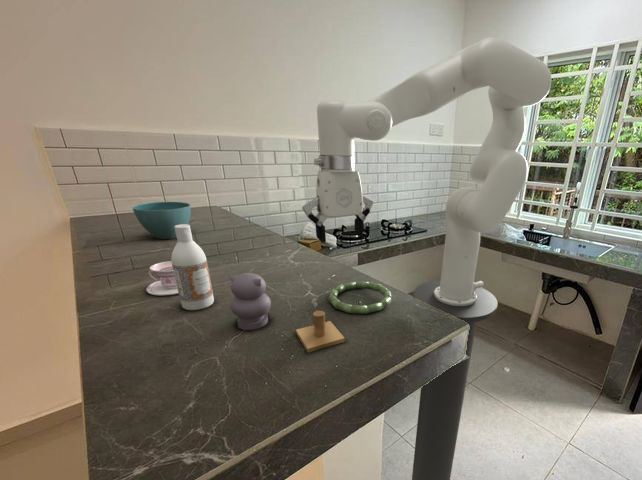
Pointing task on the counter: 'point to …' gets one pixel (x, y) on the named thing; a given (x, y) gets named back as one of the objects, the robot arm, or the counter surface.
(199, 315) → the counter surface
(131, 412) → the counter surface
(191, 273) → the bath foam
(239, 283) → the cat figurine
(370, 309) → the ring
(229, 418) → the counter surface
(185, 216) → the teal bowl
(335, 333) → the stand
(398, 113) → the robot arm
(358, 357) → the counter surface
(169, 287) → the teacup
